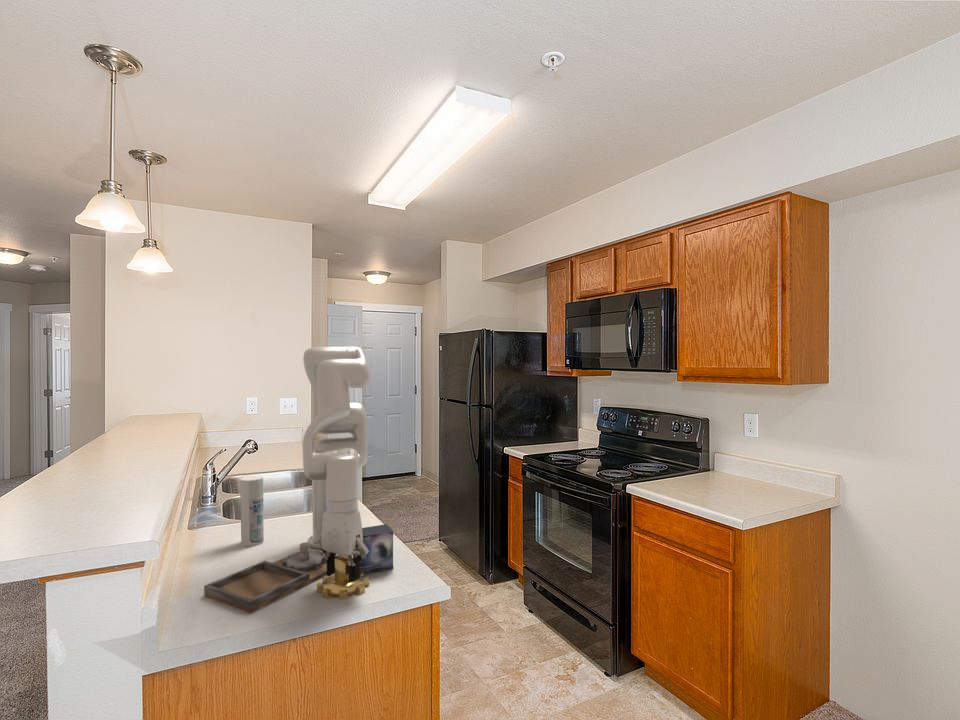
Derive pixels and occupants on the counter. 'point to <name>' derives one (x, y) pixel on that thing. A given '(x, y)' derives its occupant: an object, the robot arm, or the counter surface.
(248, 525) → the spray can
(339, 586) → the gear
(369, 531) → the small box
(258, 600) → the carrier plate
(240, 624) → the counter surface
